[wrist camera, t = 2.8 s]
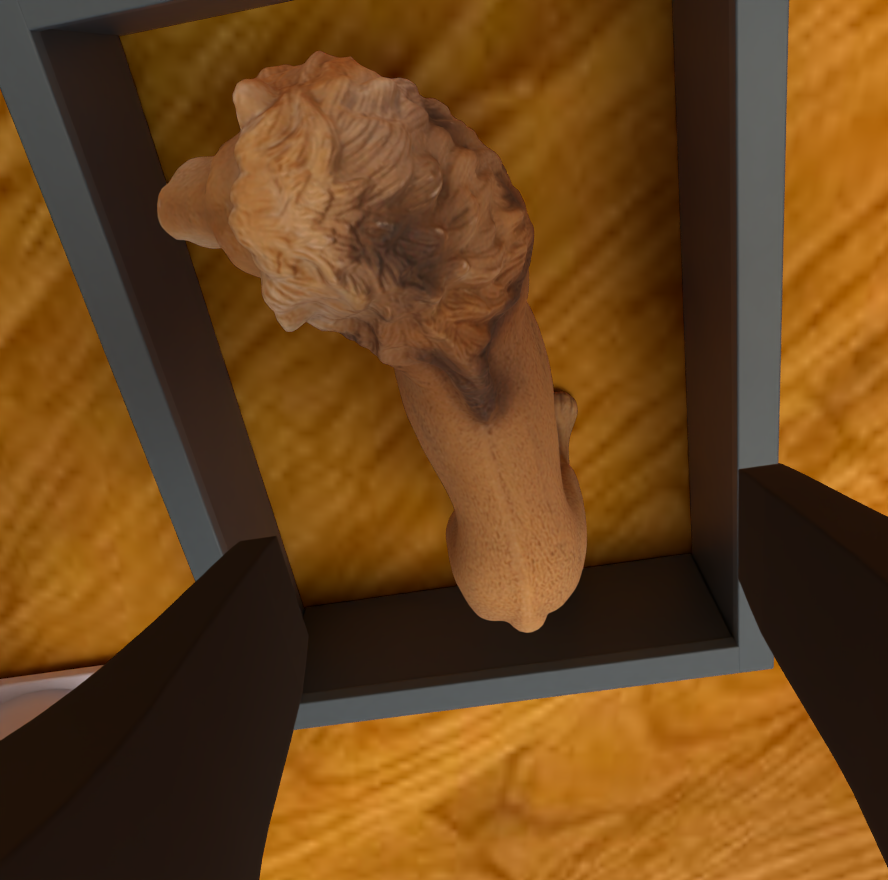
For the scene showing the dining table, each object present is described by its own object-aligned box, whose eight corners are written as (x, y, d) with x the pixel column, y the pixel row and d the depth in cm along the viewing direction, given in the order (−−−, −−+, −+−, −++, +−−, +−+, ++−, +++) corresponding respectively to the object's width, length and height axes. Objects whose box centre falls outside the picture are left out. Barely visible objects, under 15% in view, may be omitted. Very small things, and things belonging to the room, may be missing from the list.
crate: (285, 630, 24) (255, 735, 20) (68, 0, 16) (-44, -19, 13) (720, 570, 23) (774, 669, 19) (709, -136, 15) (794, -201, 12)
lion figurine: (226, 124, 17) (37, 175, 9) (430, 3, 16) (414, -55, 8) (497, 584, 23) (525, 859, 15) (662, 517, 22) (785, 776, 14)
